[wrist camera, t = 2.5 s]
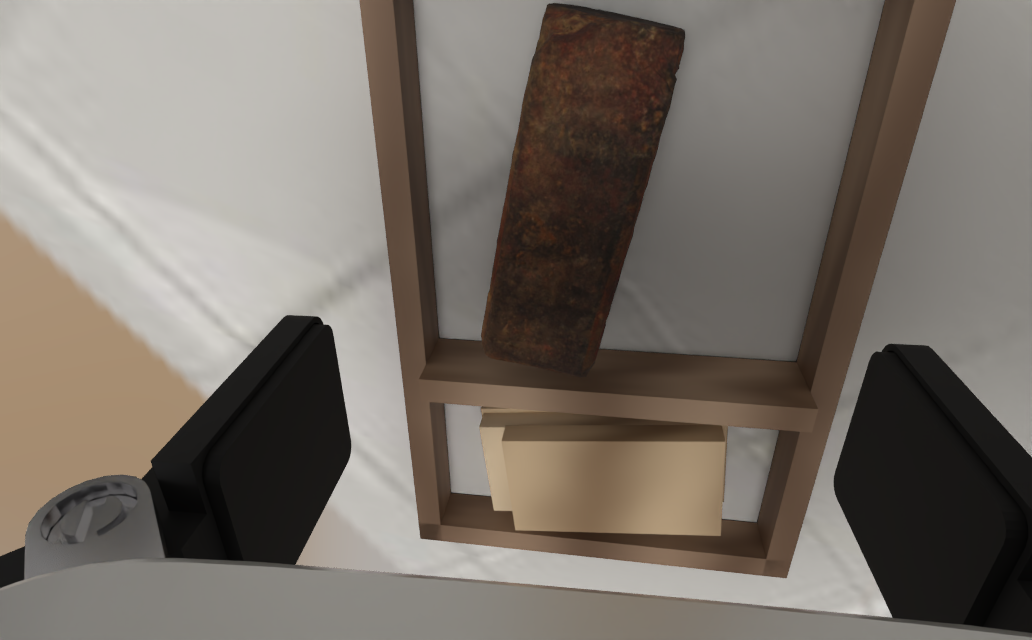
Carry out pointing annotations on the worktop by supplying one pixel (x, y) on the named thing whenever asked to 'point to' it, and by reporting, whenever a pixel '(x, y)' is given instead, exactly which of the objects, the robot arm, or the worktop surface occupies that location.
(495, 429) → the offcut stack
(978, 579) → the robot arm
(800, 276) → the worktop surface
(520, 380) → the rack
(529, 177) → the brick
